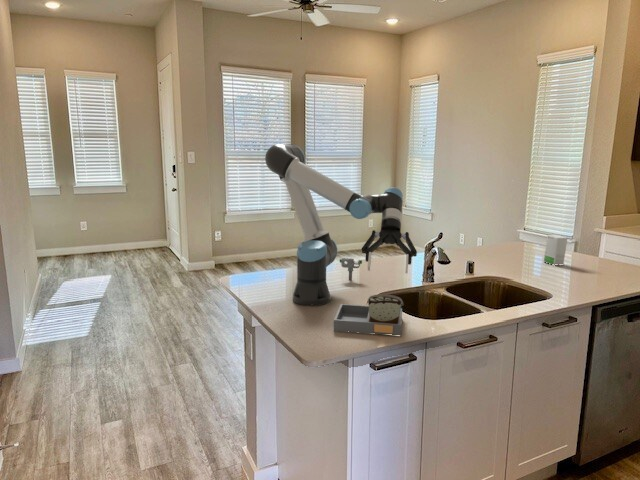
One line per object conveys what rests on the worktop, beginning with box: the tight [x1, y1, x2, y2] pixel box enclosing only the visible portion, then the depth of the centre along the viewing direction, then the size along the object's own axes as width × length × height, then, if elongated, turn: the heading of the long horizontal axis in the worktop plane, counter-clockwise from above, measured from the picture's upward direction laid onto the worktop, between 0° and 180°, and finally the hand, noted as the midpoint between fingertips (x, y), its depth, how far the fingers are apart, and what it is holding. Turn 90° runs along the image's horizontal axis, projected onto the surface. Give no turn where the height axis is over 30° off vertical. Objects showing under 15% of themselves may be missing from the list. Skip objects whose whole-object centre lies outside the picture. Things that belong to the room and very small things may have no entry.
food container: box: [366, 293, 404, 324], centre depth 157 cm, size 12×6×10 cm, turn 89°
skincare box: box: [543, 234, 568, 265], centre depth 249 cm, size 8×7×16 cm
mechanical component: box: [339, 257, 363, 282], centre depth 214 cm, size 3×10×10 cm, turn 79°
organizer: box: [333, 303, 403, 336], centre depth 160 cm, size 22×17×4 cm
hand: (387, 270), depth 166 cm, fingers open, 13 cm apart
